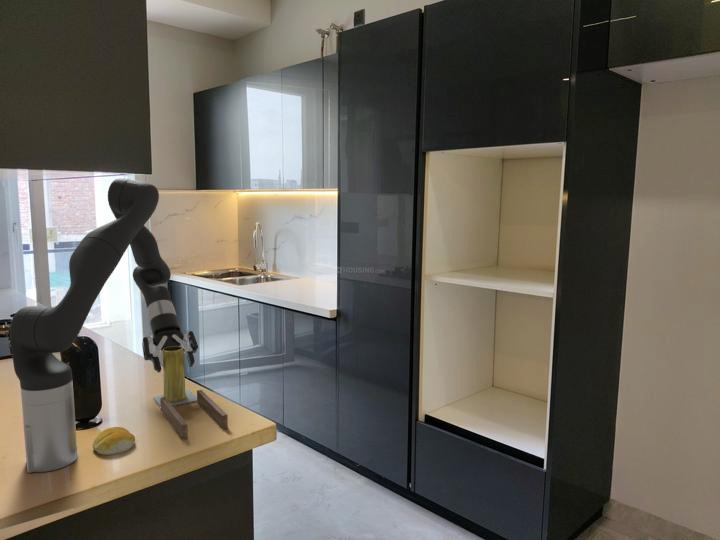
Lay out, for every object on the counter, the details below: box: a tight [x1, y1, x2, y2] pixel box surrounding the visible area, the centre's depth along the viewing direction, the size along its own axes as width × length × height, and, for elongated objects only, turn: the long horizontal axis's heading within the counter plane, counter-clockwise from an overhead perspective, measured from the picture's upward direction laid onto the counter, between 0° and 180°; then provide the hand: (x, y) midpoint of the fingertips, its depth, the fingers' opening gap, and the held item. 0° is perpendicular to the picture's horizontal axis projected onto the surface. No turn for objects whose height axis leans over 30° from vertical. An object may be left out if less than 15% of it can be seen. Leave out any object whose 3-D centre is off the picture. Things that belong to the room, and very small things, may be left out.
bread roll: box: [92, 426, 136, 456], centre depth 116 cm, size 8×9×4 cm
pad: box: [152, 389, 197, 408], centre depth 143 cm, size 10×9×1 cm
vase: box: [162, 345, 186, 402], centre depth 142 cm, size 6×6×14 cm
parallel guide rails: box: [160, 389, 229, 440], centre depth 131 cm, size 11×20×4 cm, turn 35°
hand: (175, 368), depth 142 cm, fingers open, 8 cm apart
